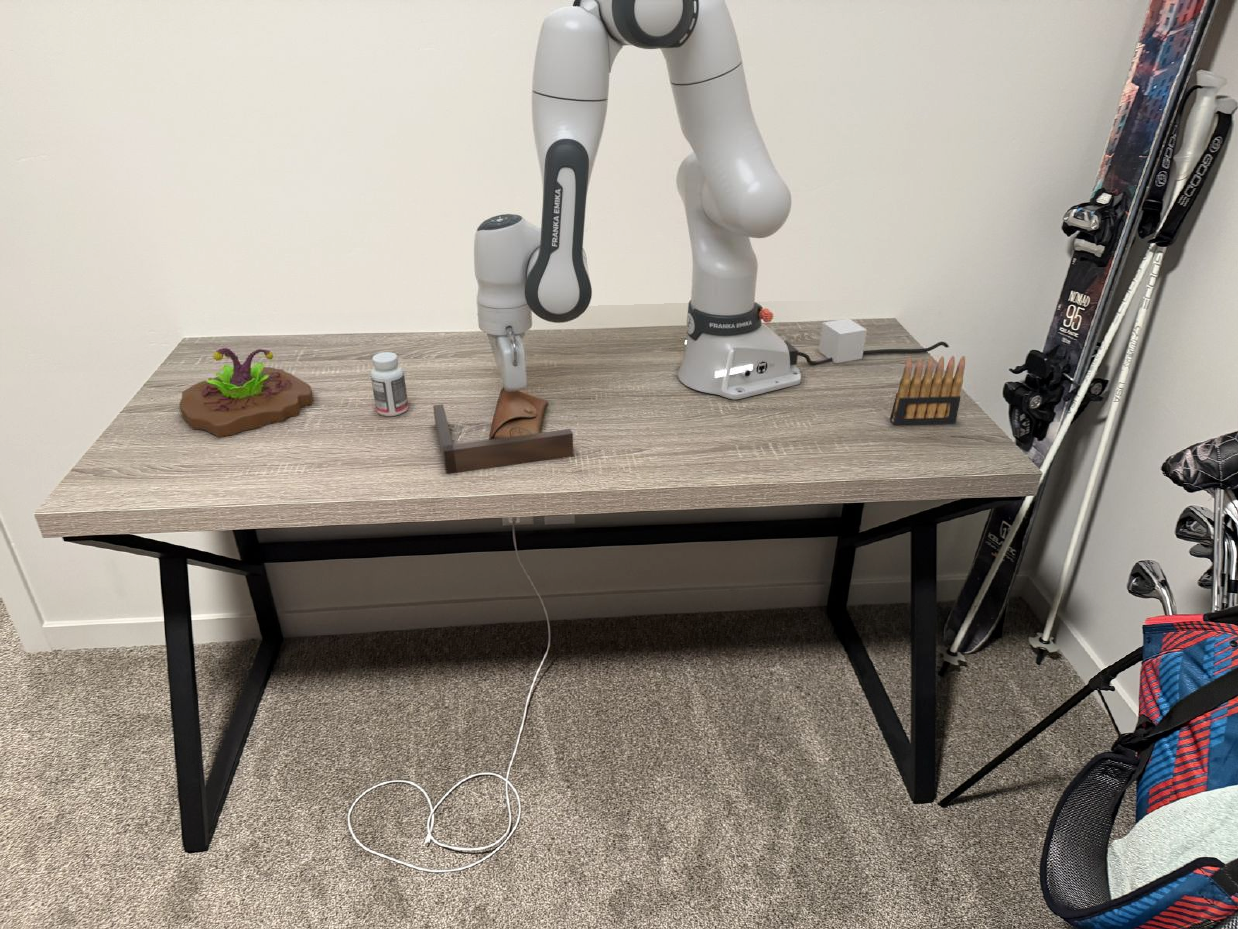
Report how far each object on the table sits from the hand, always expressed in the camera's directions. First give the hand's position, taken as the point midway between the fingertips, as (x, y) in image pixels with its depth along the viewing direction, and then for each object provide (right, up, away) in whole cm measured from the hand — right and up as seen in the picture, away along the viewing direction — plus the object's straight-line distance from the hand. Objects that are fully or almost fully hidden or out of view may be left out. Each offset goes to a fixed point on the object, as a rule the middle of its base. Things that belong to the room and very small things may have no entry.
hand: (509, 391), depth 147 cm
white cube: (+62, +8, +18) cm, 65 cm away
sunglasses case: (+3, -7, -7) cm, 10 cm away
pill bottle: (-19, -3, -2) cm, 20 cm away
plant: (-45, -3, -2) cm, 45 cm away
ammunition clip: (+70, -6, -4) cm, 70 cm away
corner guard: (0, -9, -11) cm, 14 cm away
